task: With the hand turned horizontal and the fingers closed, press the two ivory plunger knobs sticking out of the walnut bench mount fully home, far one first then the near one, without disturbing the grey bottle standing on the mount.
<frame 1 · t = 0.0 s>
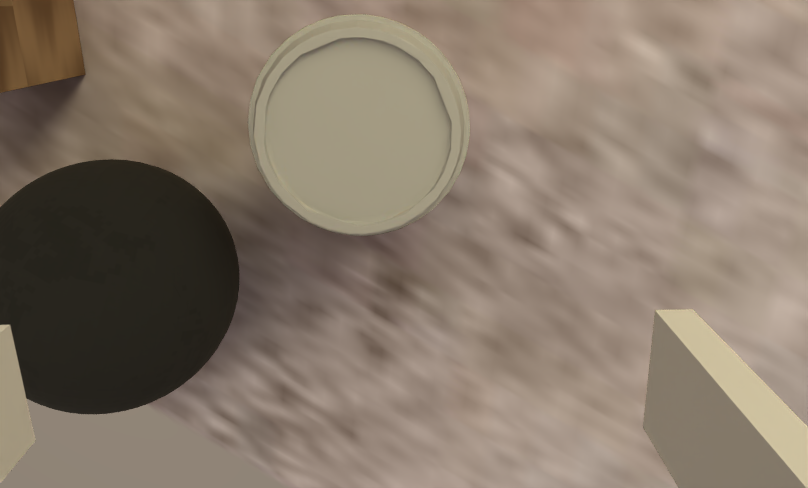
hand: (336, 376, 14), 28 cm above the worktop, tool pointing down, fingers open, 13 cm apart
disposable coffee cup: (368, 99, 40), on the worktop
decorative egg: (162, 235, 43), on the worktop
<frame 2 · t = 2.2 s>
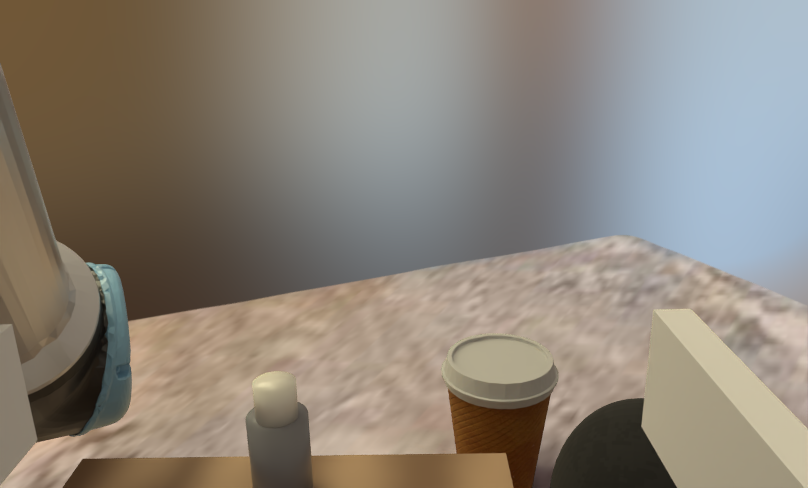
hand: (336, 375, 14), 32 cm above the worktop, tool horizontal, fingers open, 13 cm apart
disposable coffee cup: (496, 481, 61), on the worktop
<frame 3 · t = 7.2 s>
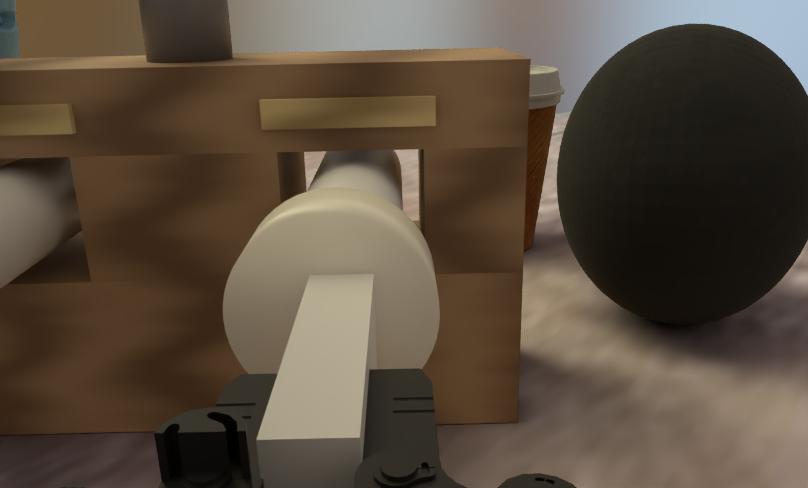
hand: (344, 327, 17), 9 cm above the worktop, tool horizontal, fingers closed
disposable coffee cup: (488, 244, 50), on the worktop
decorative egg: (666, 317, 38), on the worktop
grey bottle: (190, 59, 27), point 14 cm above the worktop, touching mount
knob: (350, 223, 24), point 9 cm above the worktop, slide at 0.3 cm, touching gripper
mount: (227, 385, 32), on the worktop
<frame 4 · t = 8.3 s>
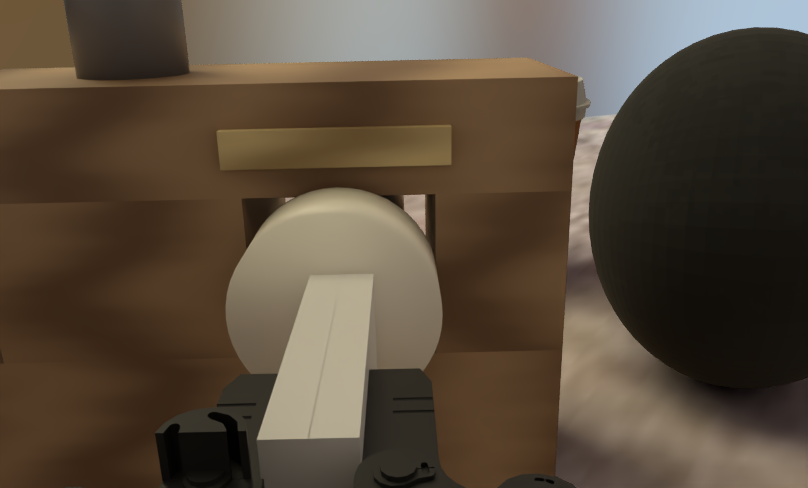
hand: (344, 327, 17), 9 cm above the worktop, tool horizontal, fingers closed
disposable coffee cup: (501, 275, 44), on the worktop
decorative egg: (717, 375, 32), on the worktop
grey bottle: (134, 74, 21), point 14 cm above the worktop, touching mount
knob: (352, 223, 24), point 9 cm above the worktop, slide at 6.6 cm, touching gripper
mount: (190, 473, 26), on the worktop
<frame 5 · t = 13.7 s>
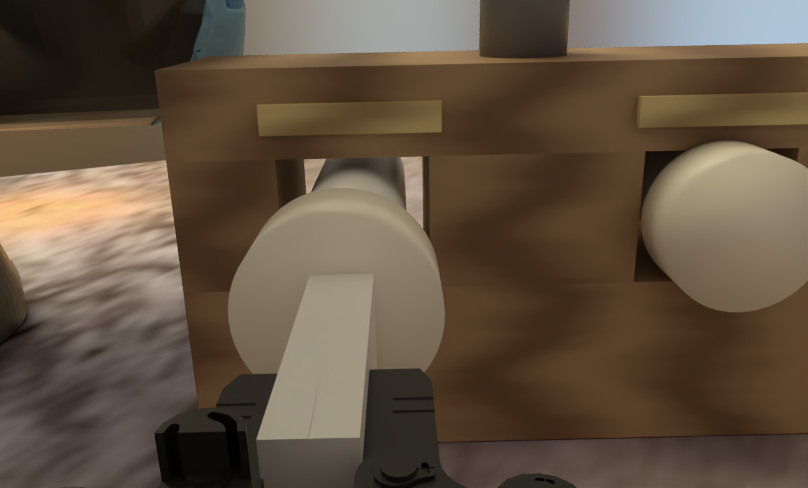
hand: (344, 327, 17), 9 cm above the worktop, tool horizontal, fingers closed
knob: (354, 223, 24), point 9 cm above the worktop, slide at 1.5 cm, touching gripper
grey bottle: (522, 55, 26), point 14 cm above the worktop, touching mount
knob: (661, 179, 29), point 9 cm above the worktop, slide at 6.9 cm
mount: (511, 392, 30), on the worktop
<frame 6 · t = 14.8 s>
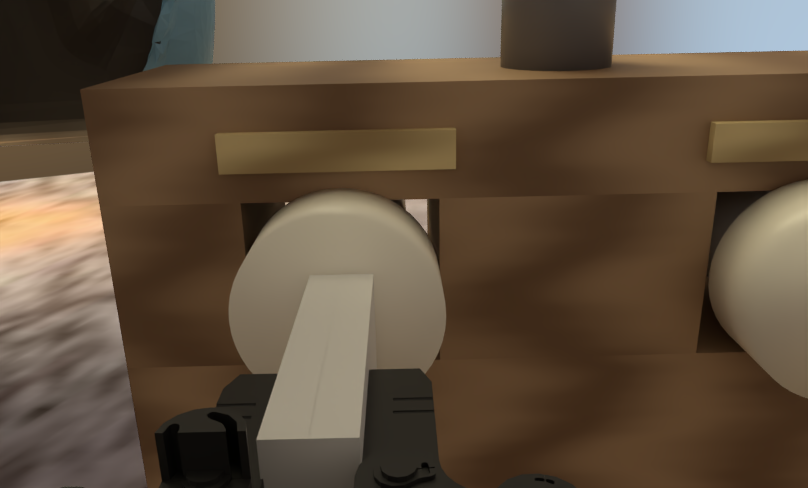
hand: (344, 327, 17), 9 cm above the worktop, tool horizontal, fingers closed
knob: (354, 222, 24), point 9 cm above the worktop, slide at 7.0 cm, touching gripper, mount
grey bottle: (555, 65, 21), point 14 cm above the worktop, touching mount
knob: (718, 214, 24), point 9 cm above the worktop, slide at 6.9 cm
mount: (534, 469, 25), on the worktop
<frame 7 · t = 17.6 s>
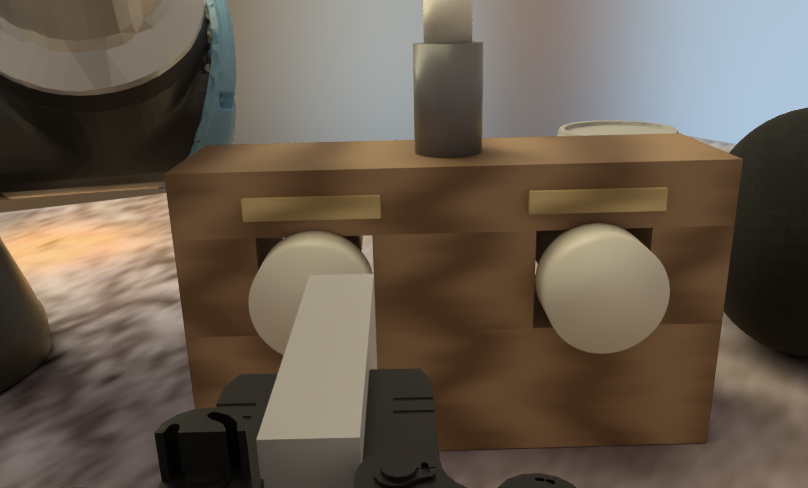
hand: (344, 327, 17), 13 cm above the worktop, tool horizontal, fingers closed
disposable coffee cup: (606, 279, 57), on the worktop
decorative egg: (791, 349, 44), on the worktop
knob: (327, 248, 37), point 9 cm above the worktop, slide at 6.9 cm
grey bottle: (448, 151, 33), point 14 cm above the worktop, touching mount
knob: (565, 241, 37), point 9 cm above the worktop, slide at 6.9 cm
mount: (449, 411, 38), on the worktop
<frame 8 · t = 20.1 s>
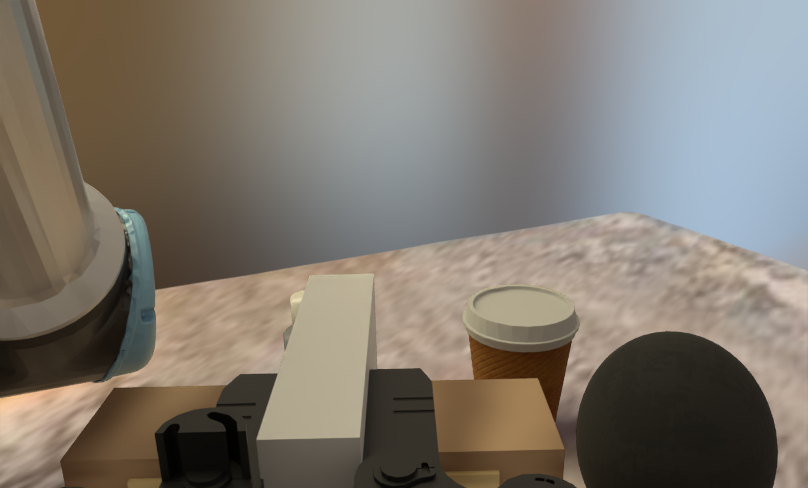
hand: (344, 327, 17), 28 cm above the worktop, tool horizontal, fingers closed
disposable coffee cup: (516, 432, 61), on the worktop
grey bottle: (320, 415, 38), point 14 cm above the worktop, touching mount
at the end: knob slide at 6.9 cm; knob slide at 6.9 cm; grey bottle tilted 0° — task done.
